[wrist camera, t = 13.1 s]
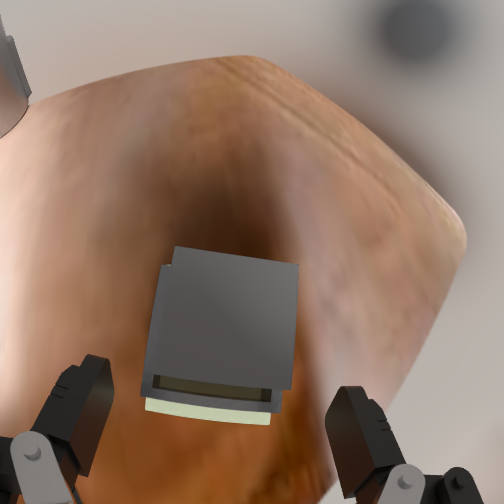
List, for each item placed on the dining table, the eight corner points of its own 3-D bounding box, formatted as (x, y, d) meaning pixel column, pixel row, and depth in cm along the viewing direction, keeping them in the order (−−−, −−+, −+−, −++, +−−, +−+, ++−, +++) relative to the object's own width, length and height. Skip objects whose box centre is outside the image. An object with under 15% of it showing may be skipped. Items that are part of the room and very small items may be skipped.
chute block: (186, 307, 20) (174, 245, 11) (253, 317, 20) (298, 264, 11) (176, 375, 18) (153, 373, 9) (247, 384, 18) (290, 389, 9)
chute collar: (166, 280, 20) (161, 264, 18) (278, 296, 21) (290, 283, 18) (149, 393, 17) (140, 396, 14) (268, 408, 18) (280, 413, 15)
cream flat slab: (168, 269, 22) (167, 264, 21) (277, 285, 23) (281, 280, 22) (148, 407, 18) (145, 409, 17) (265, 422, 19) (269, 424, 18)
